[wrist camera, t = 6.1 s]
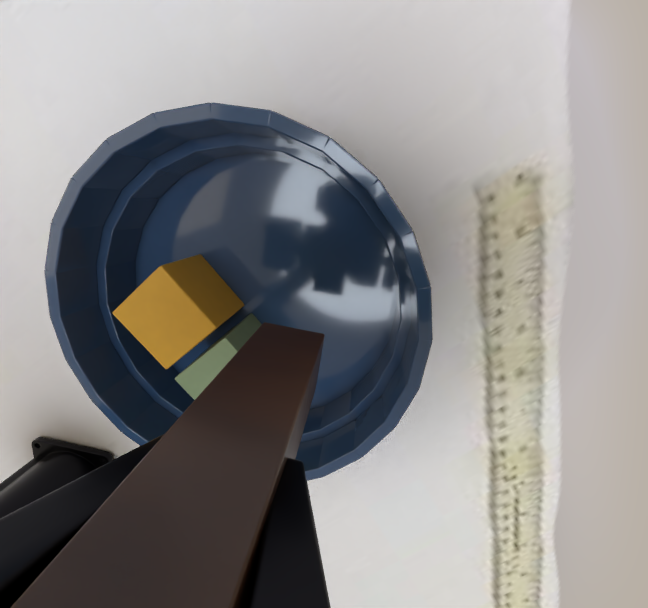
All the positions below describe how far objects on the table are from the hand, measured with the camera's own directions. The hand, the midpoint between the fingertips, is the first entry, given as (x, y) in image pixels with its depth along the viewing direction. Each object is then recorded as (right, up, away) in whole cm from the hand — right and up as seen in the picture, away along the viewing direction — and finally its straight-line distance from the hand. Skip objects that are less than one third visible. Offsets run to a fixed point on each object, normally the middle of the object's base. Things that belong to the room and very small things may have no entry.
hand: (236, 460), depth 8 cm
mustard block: (-6, +4, +13) cm, 14 cm away
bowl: (-2, +4, +13) cm, 13 cm away
